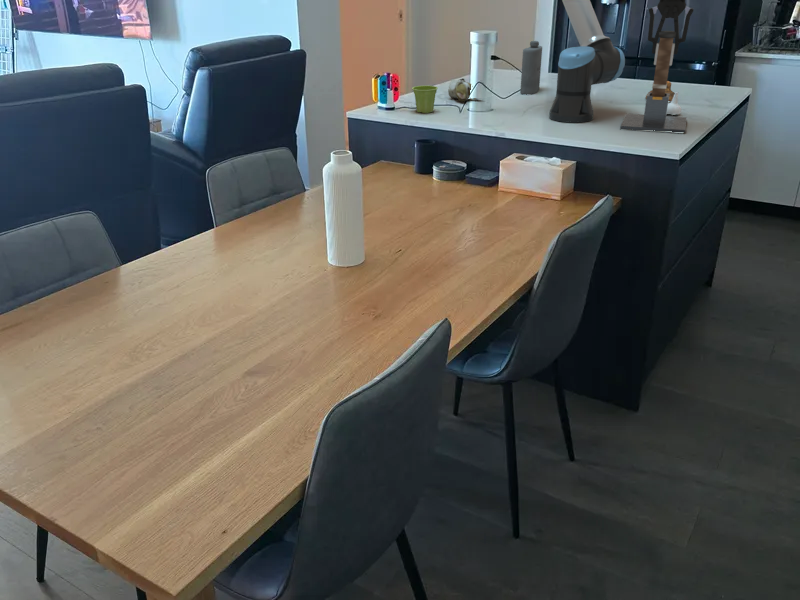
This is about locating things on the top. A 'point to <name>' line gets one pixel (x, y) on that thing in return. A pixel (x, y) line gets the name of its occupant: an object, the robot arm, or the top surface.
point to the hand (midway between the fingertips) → (662, 64)
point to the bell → (668, 91)
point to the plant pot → (425, 98)
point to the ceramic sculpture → (459, 89)
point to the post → (663, 62)
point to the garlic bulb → (674, 106)
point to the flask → (531, 68)
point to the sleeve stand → (654, 117)
